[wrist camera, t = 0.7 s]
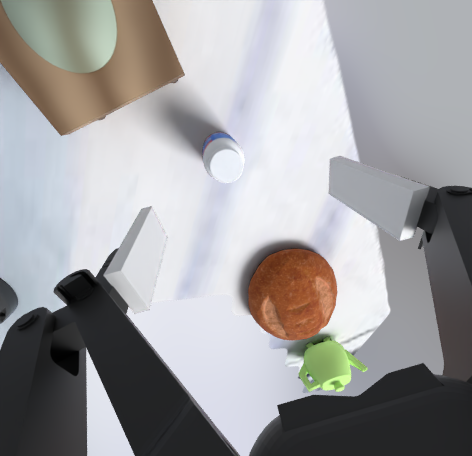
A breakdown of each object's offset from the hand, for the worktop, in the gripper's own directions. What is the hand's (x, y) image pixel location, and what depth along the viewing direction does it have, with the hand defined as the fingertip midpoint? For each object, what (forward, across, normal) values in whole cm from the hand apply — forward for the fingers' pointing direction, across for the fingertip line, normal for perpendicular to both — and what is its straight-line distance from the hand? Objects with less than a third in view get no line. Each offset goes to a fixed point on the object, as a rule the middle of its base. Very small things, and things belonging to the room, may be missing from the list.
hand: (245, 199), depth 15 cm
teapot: (+20, +17, -70) cm, 75 cm away
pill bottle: (+20, 0, 0) cm, 20 cm away
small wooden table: (+20, -10, +15) cm, 27 cm away
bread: (+20, +9, -38) cm, 44 cm away
